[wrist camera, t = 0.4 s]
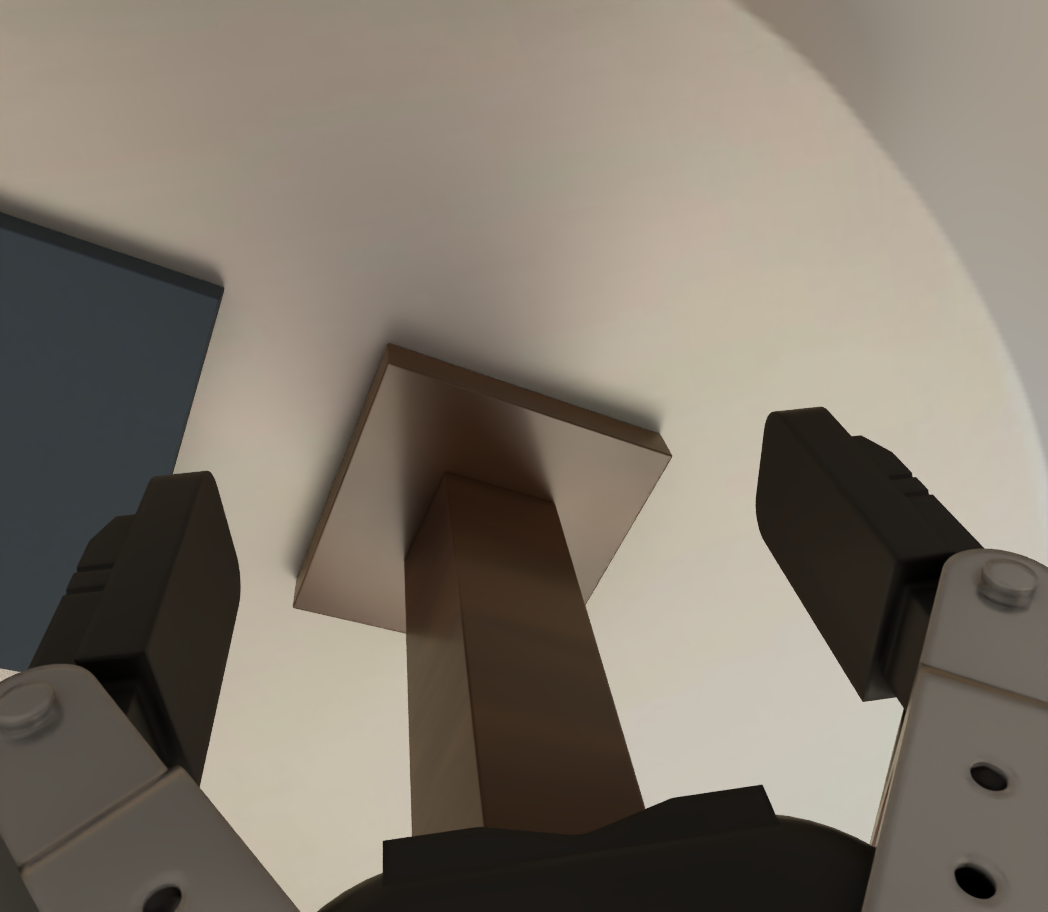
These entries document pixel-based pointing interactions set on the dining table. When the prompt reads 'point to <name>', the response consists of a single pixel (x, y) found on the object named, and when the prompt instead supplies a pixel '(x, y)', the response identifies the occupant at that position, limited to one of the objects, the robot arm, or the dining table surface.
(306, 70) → the dining table surface
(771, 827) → the robot arm
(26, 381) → the mat
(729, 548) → the dining table surface
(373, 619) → the brown pedestal stand
